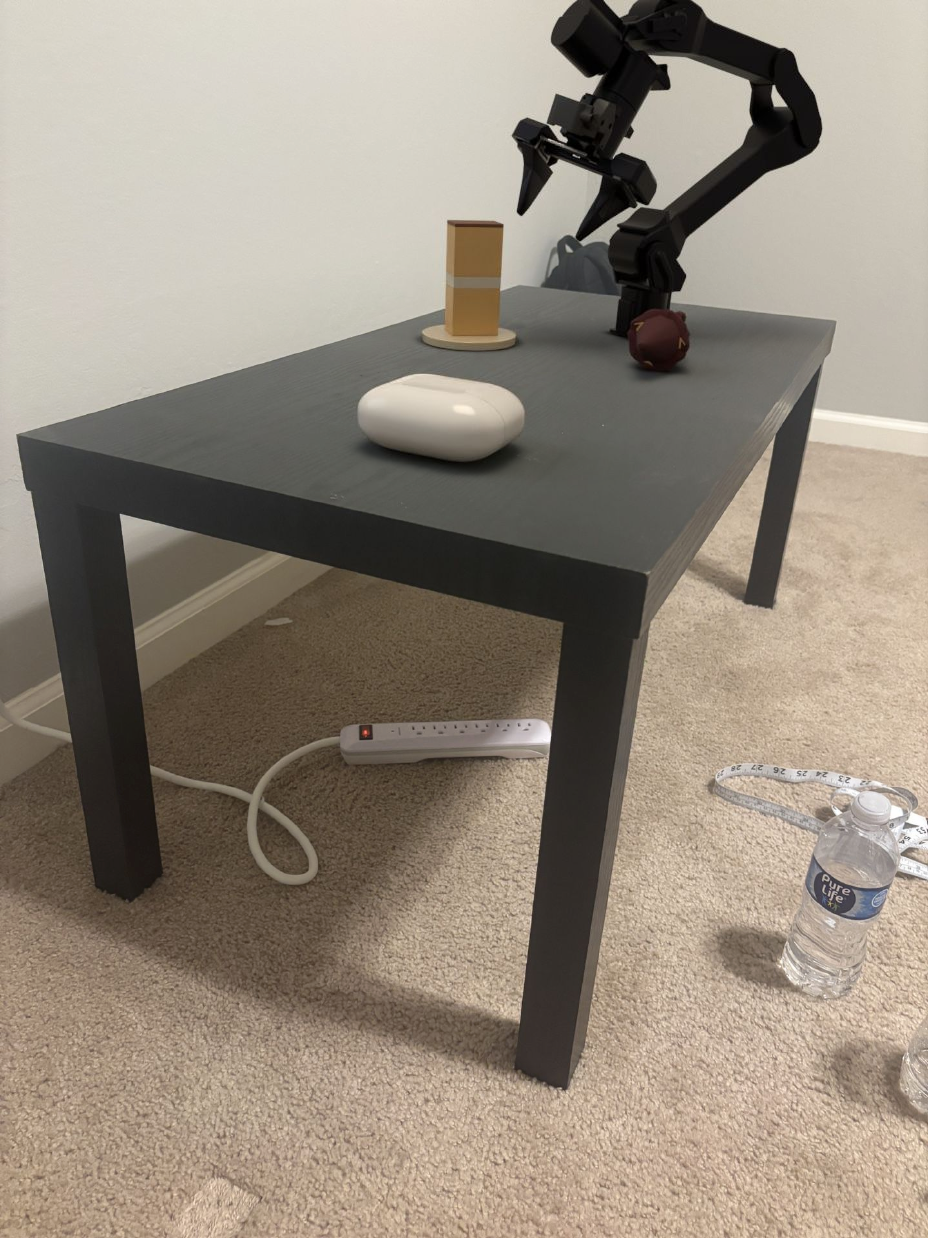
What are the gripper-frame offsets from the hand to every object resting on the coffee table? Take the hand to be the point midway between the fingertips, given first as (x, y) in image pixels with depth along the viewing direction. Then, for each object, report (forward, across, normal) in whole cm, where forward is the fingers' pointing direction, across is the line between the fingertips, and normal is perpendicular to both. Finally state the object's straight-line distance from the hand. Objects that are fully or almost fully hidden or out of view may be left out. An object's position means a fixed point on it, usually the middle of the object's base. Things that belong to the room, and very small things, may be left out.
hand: (547, 226), depth 110 cm
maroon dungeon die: (+9, +21, +3) cm, 23 cm away
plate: (+16, -3, +2) cm, 17 cm away
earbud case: (+28, +23, -33) cm, 49 cm away
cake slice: (+15, -4, +2) cm, 16 cm away
